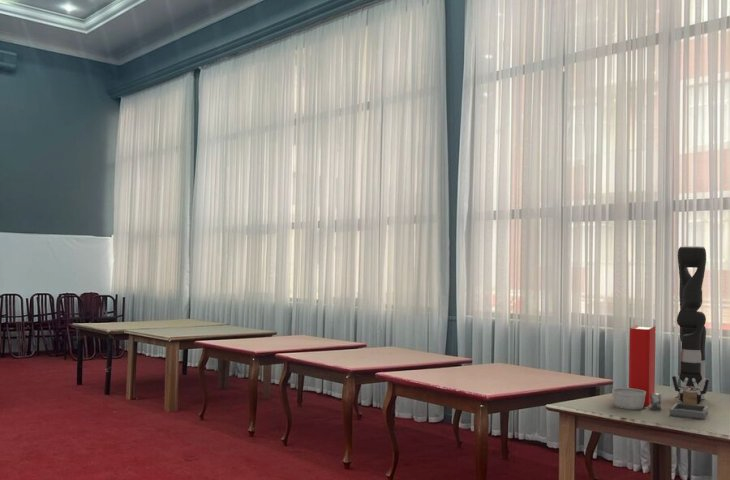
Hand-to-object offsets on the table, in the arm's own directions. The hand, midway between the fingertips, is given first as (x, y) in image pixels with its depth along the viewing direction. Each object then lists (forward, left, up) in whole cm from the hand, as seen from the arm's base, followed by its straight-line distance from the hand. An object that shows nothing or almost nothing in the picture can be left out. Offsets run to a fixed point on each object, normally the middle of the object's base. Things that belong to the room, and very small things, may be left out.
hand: (690, 403), depth 286 cm
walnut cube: (0, 0, 0) cm, 0 cm away
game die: (-17, -3, -4) cm, 18 cm away
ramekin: (+4, -23, -4) cm, 24 cm away
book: (-17, -21, -4) cm, 28 cm away
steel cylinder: (0, -13, -4) cm, 14 cm away
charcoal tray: (+4, 0, -4) cm, 5 cm away
